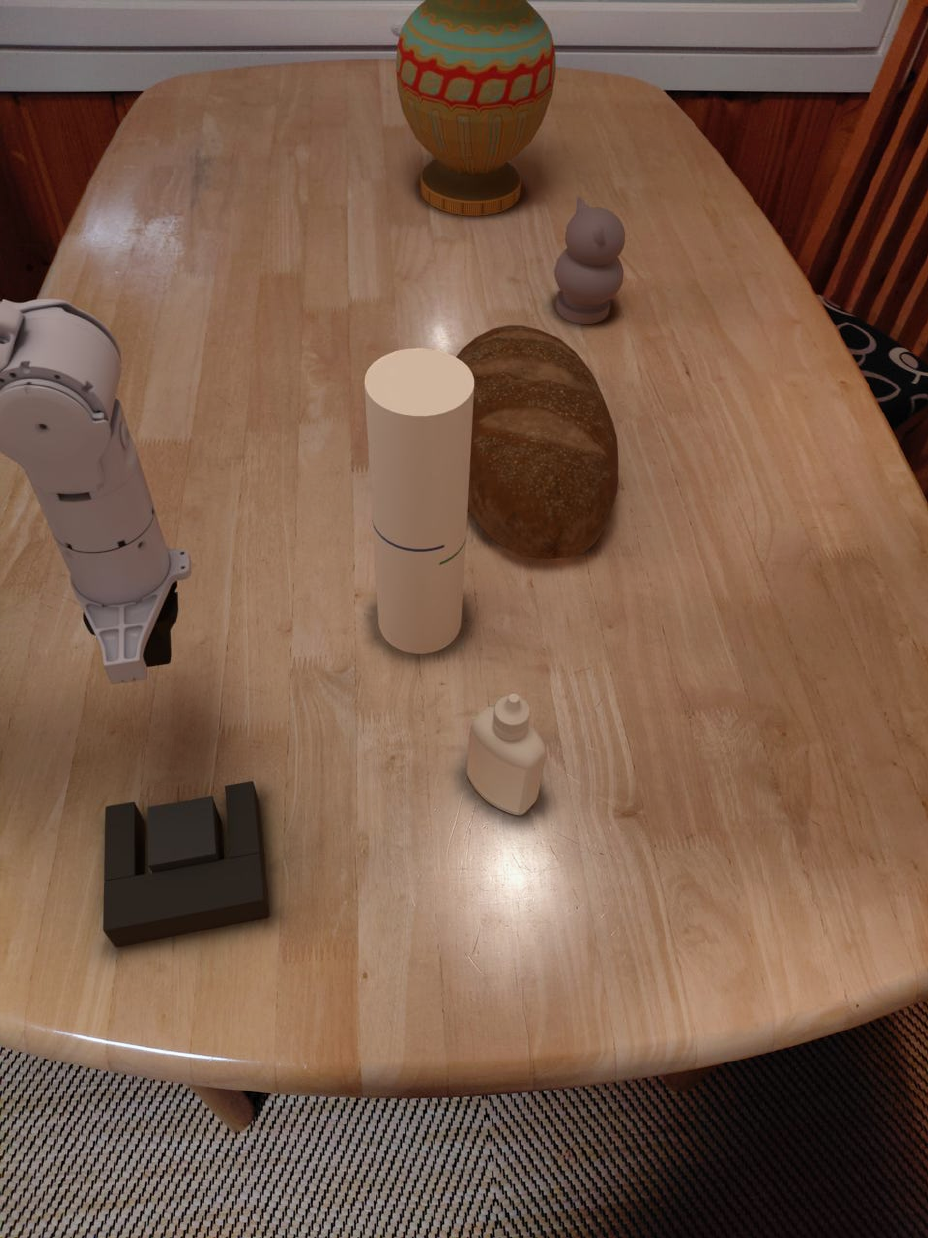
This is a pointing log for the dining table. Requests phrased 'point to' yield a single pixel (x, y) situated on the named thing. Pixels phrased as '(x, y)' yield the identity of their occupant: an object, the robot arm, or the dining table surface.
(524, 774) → the eye dropper bottle
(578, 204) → the grey rounded figurine
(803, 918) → the dining table surface
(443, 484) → the cylindrical container
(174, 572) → the robot arm
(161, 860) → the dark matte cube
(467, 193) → the vase
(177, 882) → the black u-shaped block
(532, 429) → the bread
